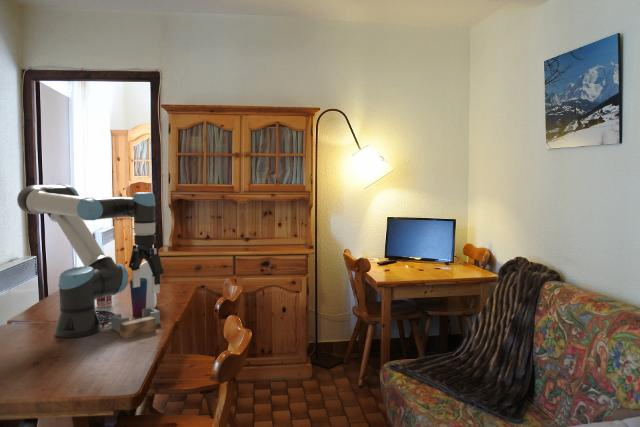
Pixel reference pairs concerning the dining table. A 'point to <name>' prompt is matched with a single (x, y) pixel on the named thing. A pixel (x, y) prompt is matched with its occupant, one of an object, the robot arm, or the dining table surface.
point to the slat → (137, 327)
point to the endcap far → (151, 314)
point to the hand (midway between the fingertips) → (145, 290)
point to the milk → (148, 284)
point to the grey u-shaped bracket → (117, 322)
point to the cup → (138, 297)
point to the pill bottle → (104, 301)
